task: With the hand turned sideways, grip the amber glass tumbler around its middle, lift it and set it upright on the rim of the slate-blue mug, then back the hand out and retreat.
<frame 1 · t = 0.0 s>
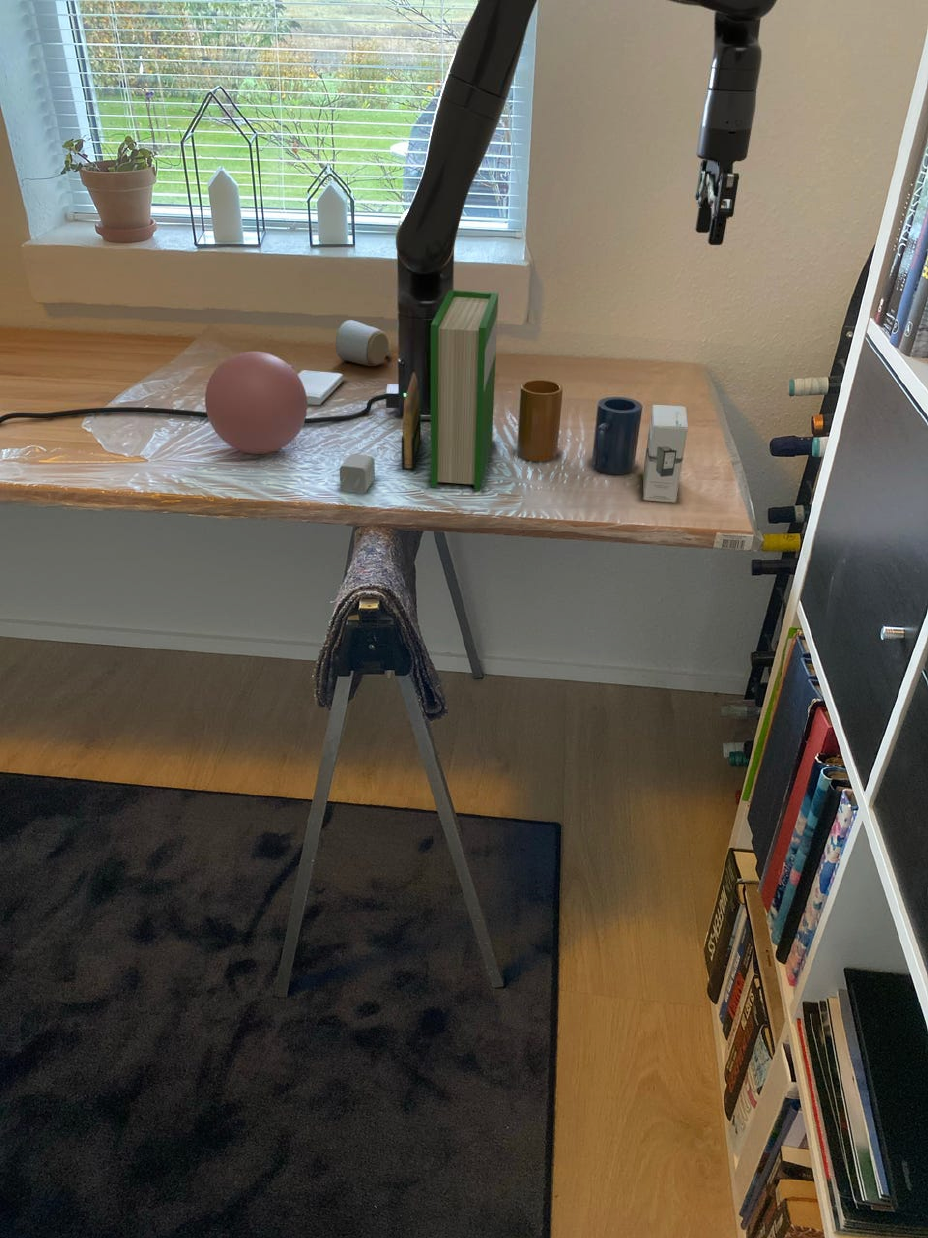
hand: (708, 238, 149), 29 cm above the table, tool pointing down, fingers open, 8 cm apart
ceramic mug: (366, 361, 185), on the table
ammunition clip: (411, 457, 148), on the table
tumbler: (537, 453, 150), on the table
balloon: (269, 445, 151), on the table
usb wall charger: (355, 490, 138), on the table
hardback book: (462, 465, 146), on the table
ink box: (658, 490, 140), on the table
hard drive: (311, 392, 171), on the table
mug: (612, 465, 146), on the table
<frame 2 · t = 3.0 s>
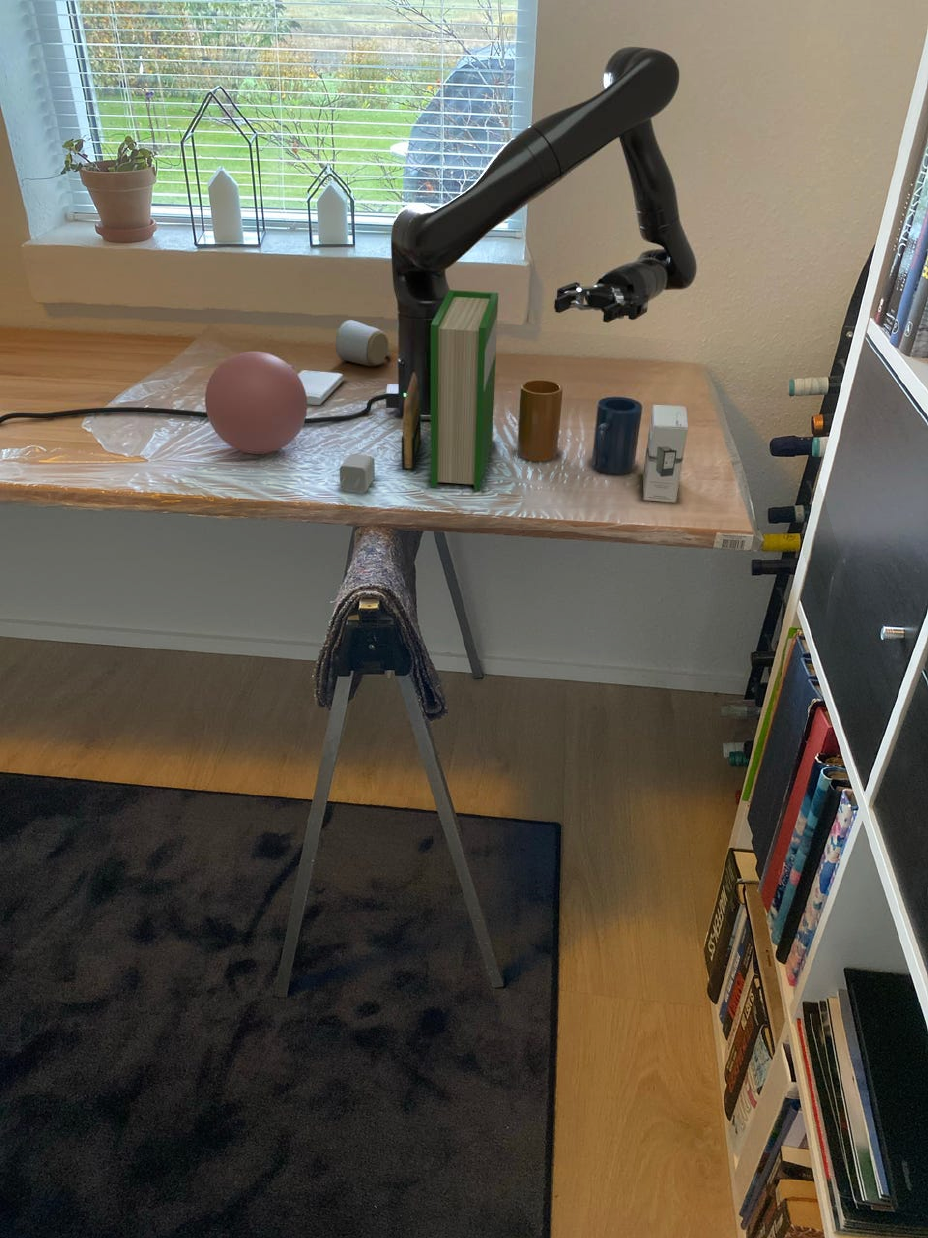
hand: (581, 310, 146), 20 cm above the table, tool horizontal, fingers open, 8 cm apart
nothing on the table moved.
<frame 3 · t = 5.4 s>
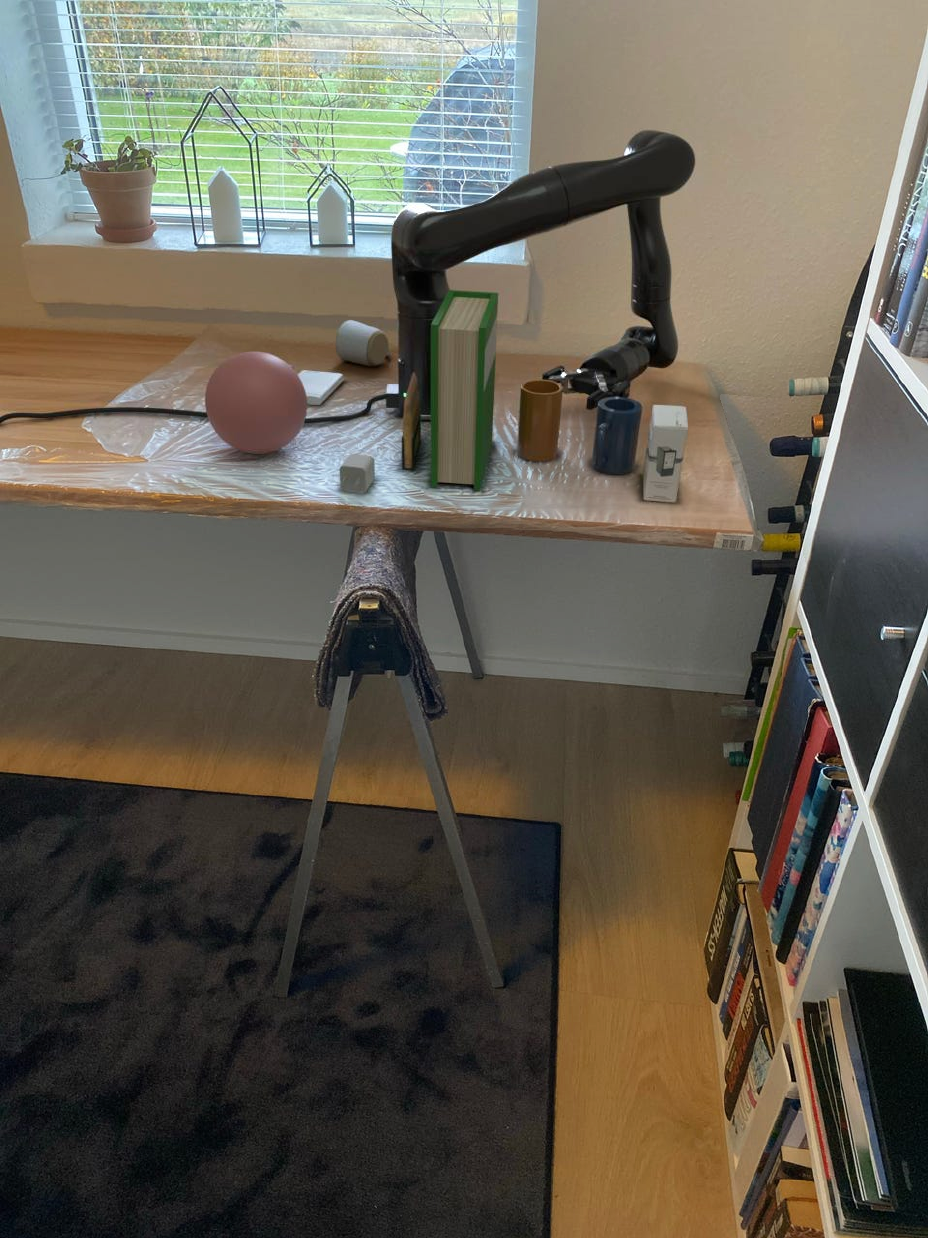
hand: (565, 398, 152), 7 cm above the table, tool horizontal, fingers open, 8 cm apart
nothing on the table moved.
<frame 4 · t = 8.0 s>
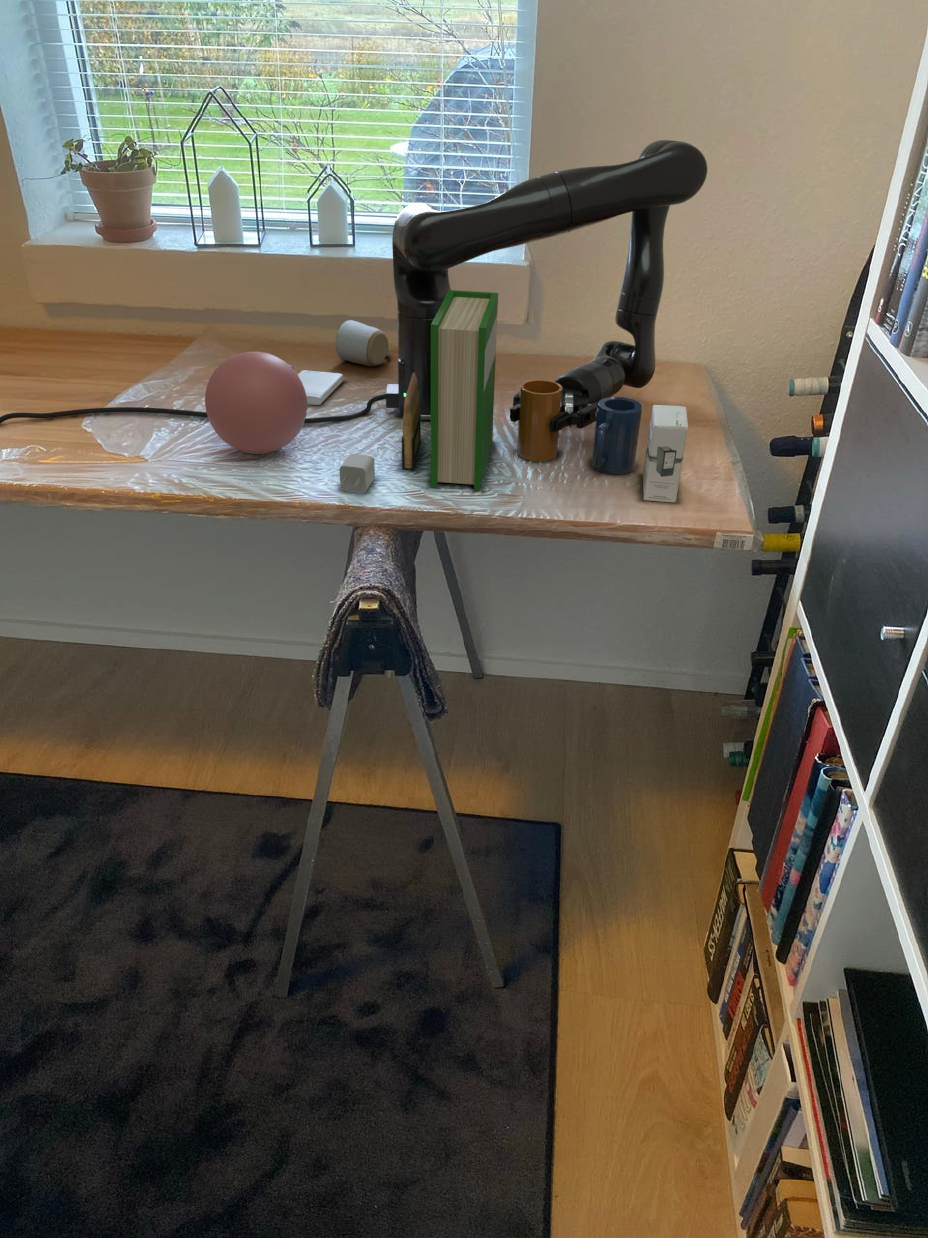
hand: (532, 420, 145), 6 cm above the table, tool horizontal, fingers closed on tumbler, 6 cm apart
tumbler: (537, 453, 150), on the table, touching gripper
everything else where it was.
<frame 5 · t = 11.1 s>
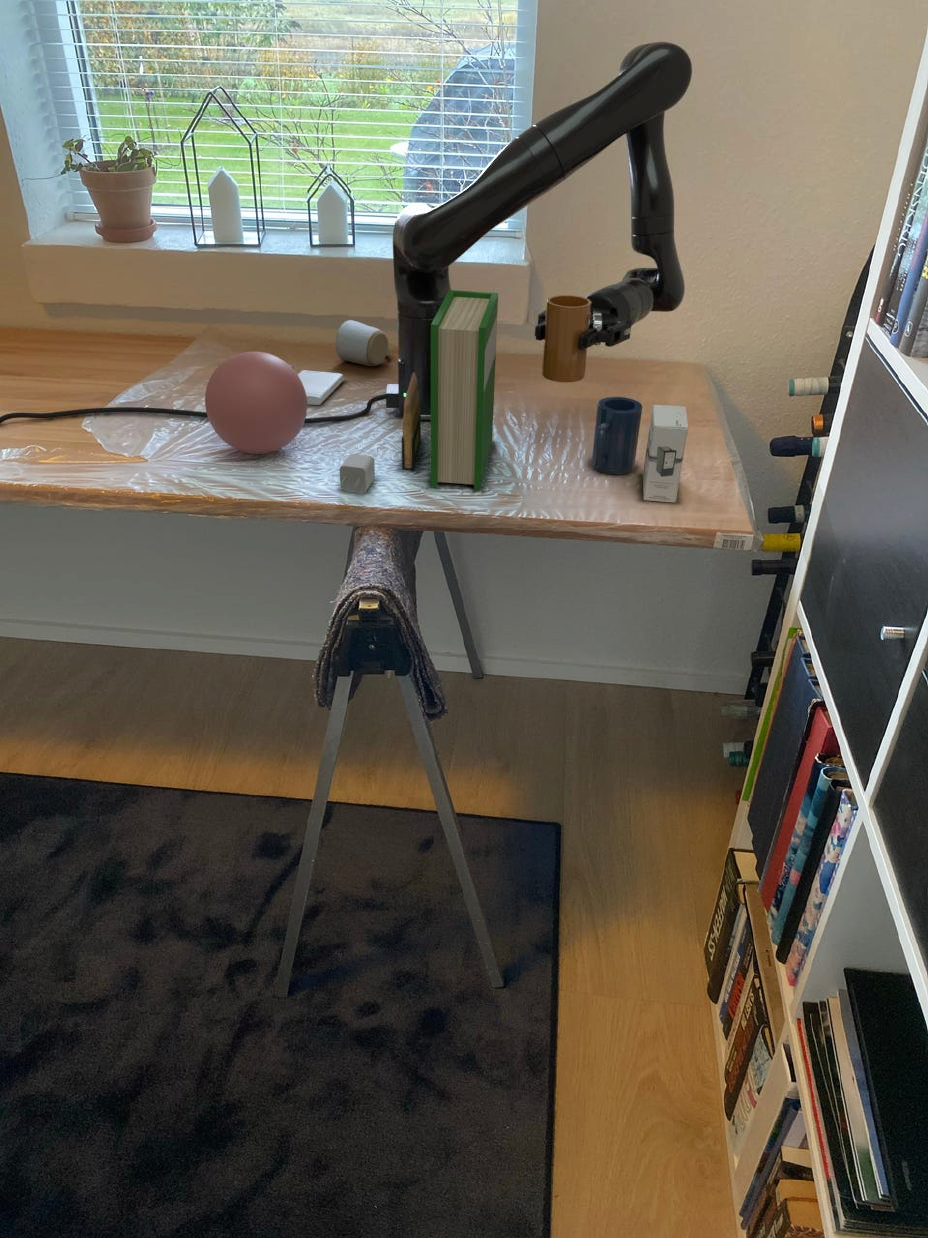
hand: (559, 337, 136), 19 cm above the table, tool horizontal, fingers closed on tumbler, 6 cm apart
tumbler: (563, 375, 141), point 13 cm above the table, touching gripper
everything else where it was.
when the fingers open (16 cm above the table, at t = 14.3 s): tumbler stays where it is, resting on mug.
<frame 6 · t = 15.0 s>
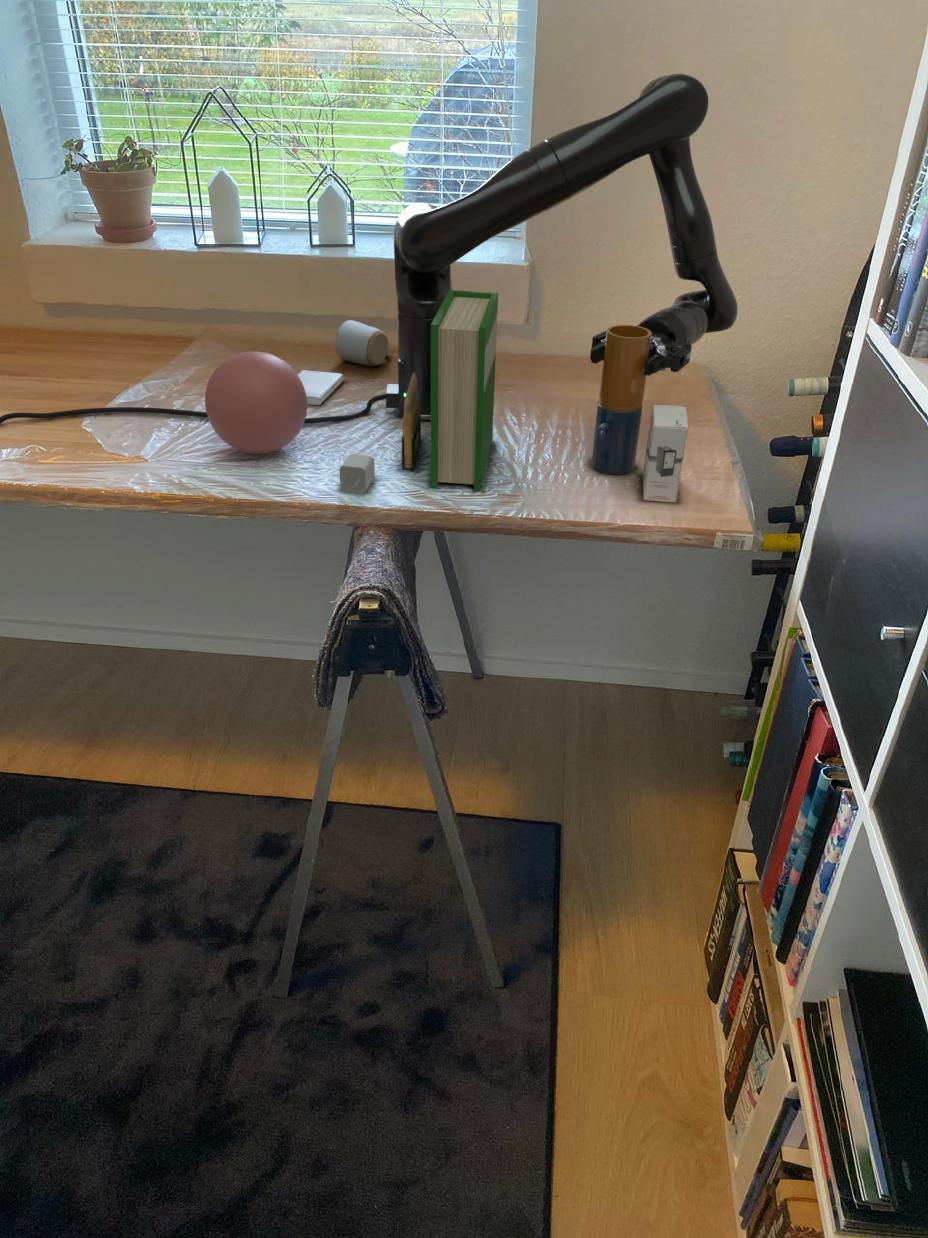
hand: (619, 362, 136), 17 cm above the table, tool horizontal, fingers open, 8 cm apart
tumbler: (620, 404, 141), point 10 cm above the table, touching mug
everything else where it was.
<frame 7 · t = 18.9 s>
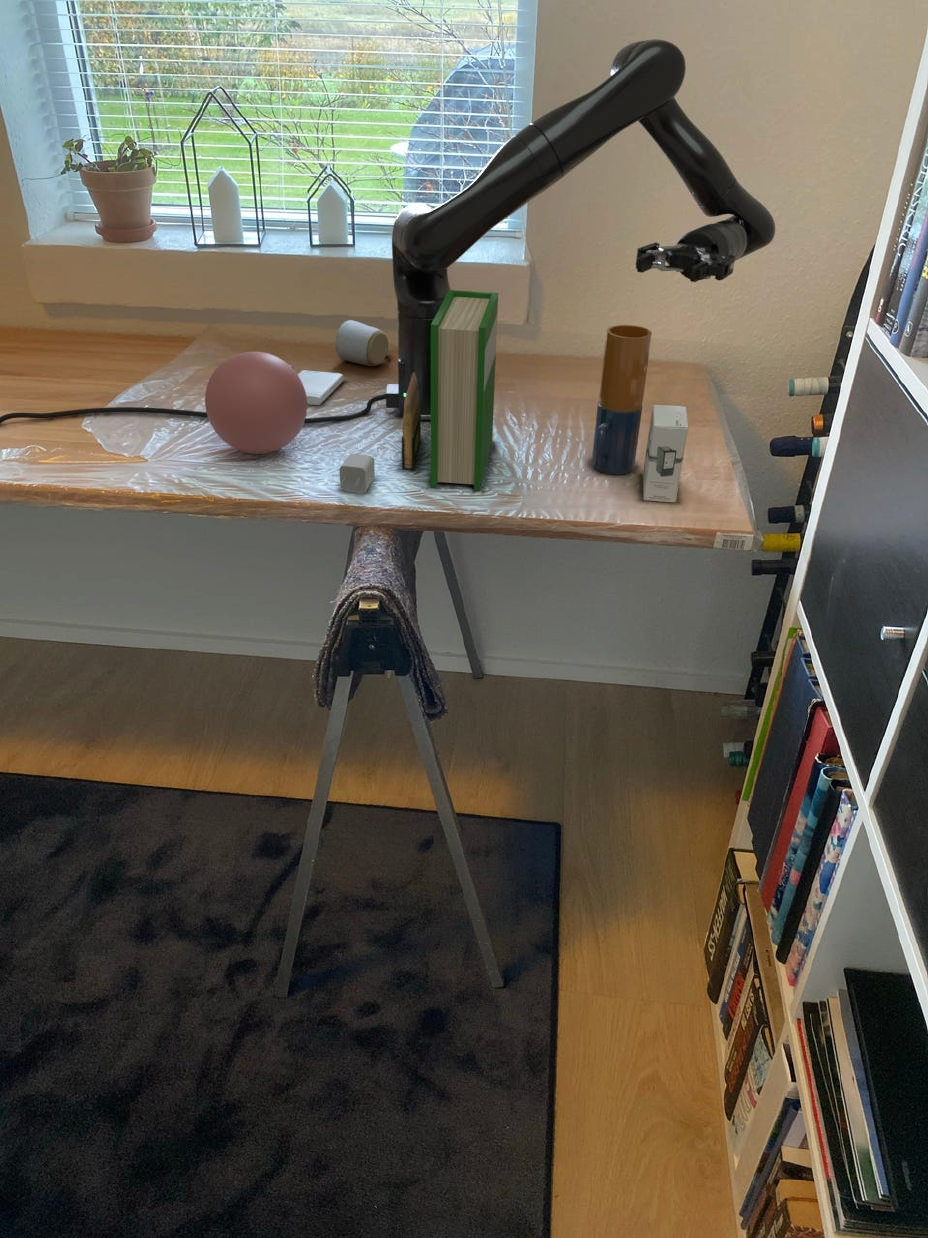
hand: (666, 269, 139), 27 cm above the table, tool horizontal, fingers open, 8 cm apart
nothing on the table moved.
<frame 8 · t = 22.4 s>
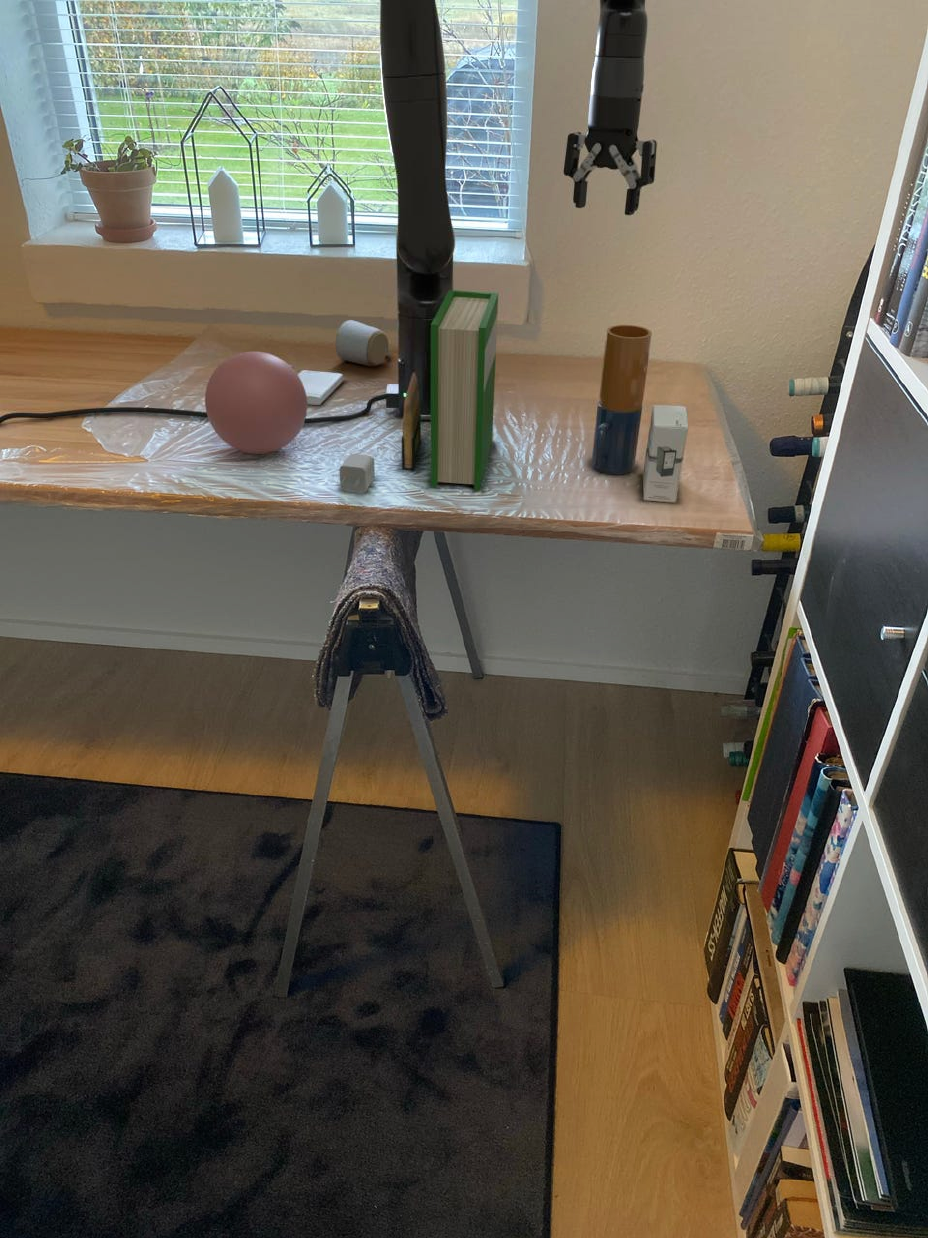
hand: (604, 210, 146), 33 cm above the table, tool pointing down, fingers open, 8 cm apart
nothing on the table moved.
at the end: tumbler 0.1 cm off-centre on the mug, point 10.0 cm above the mug's base; tumbler tilted 0°; the gripper is holding nothing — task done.
